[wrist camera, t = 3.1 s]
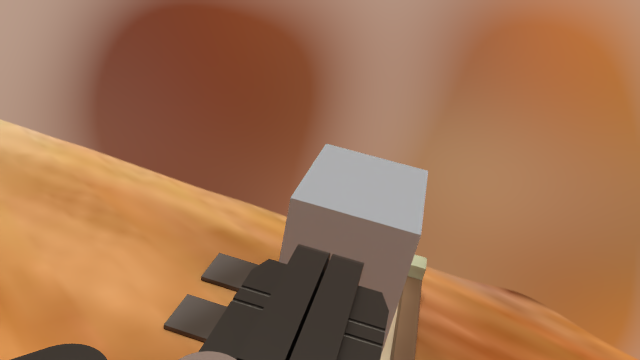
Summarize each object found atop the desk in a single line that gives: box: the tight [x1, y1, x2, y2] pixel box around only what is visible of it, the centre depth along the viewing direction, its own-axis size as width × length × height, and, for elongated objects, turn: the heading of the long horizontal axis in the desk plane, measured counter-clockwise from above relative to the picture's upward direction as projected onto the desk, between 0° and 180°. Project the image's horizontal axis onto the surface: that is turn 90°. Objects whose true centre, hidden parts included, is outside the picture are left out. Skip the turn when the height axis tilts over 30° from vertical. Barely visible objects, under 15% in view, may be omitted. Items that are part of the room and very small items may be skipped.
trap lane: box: [164, 253, 427, 360], centre depth 30 cm, size 15×17×3 cm
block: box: [279, 144, 428, 354], centre depth 24 cm, size 5×6×13 cm
